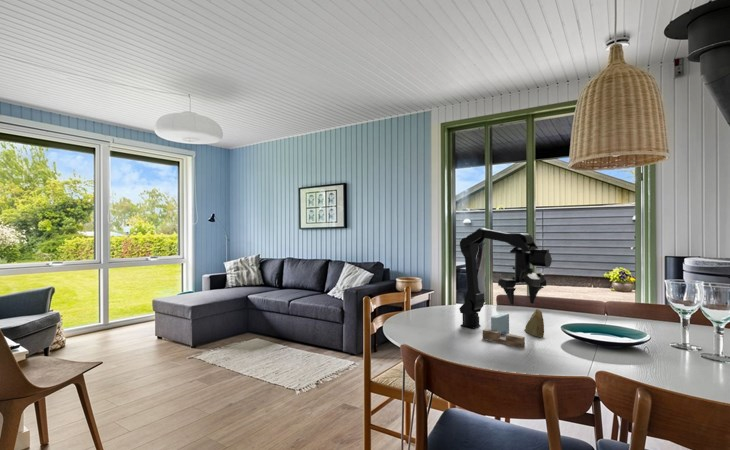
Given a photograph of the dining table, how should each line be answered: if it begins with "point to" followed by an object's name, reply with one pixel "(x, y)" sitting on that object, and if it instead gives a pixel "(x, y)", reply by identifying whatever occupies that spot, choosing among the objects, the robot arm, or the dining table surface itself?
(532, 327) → the rock
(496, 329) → the blue-grey rectangular slab
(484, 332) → the walnut rail
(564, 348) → the dining table surface
